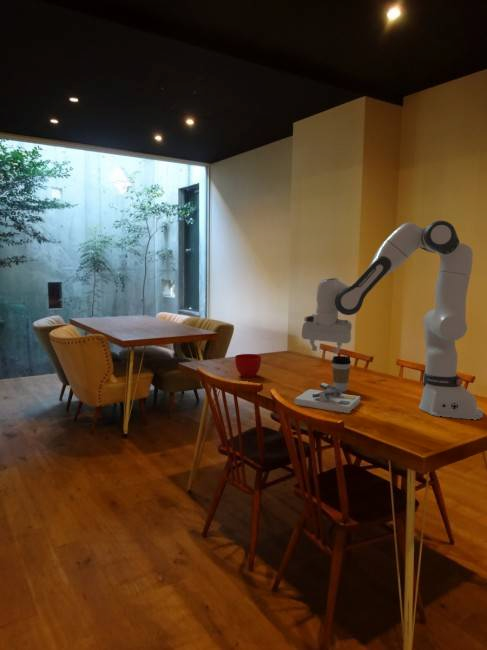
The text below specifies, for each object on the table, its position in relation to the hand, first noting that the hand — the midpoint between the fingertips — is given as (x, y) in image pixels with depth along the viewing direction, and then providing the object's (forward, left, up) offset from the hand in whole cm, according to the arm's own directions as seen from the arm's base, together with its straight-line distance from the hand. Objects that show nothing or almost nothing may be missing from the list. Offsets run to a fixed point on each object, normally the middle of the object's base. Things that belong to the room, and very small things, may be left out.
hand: (325, 351), depth 188 cm
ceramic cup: (+48, -22, -21) cm, 57 cm away
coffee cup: (-1, -19, -20) cm, 28 cm away
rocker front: (-3, +8, -15) cm, 18 cm away
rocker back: (-3, 0, -15) cm, 16 cm away
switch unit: (-3, +4, -20) cm, 21 cm away
